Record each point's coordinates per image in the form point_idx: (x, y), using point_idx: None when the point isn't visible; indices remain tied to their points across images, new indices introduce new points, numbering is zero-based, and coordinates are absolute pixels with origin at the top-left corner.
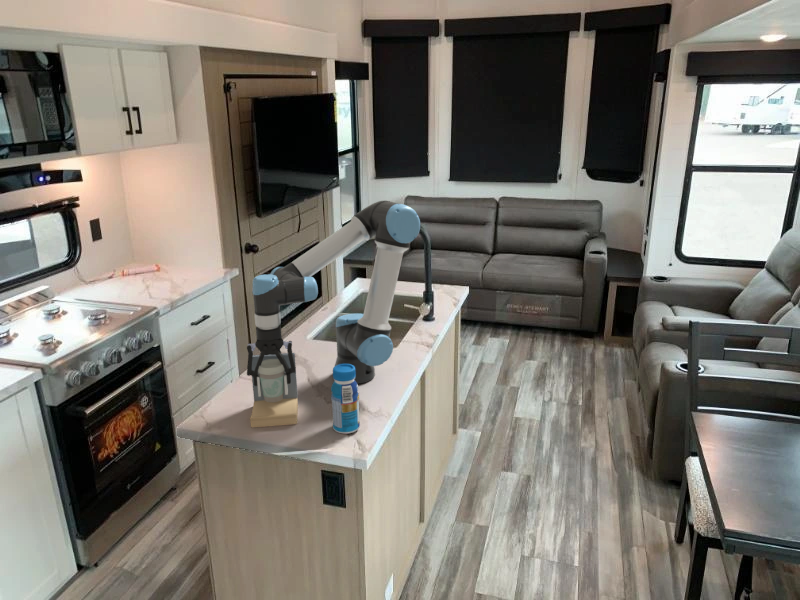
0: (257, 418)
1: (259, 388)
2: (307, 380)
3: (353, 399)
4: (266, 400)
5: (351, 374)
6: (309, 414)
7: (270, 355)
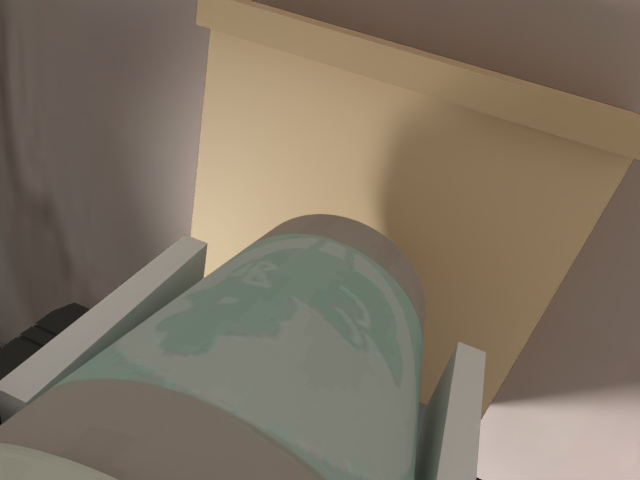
0: (580, 100)
1: (456, 422)
2: None
3: None
4: (413, 274)
5: None
6: (152, 116)
7: None
